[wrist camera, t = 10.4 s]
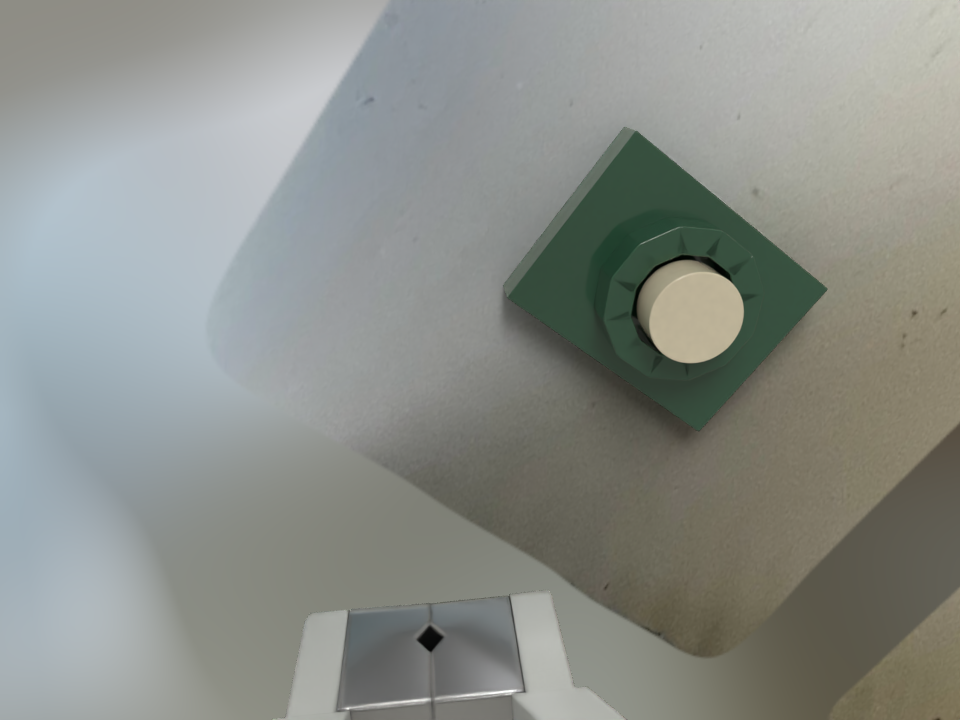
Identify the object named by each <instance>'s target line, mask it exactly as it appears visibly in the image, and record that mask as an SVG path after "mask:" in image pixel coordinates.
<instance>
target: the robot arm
mask: <svg viewBox="0 0 960 720" xmlns="http://www.w3.org/2000/svg"><path fill="white" fill-rule="evenodd" d="M272 720H627V719H626V718H625V717H623V716H622V715H621V714H620V713H618V712H617V711H616V710H615V709H614V708H613V707H611V706H610V705H609V704H608V703H607V702H605V701H604V700H603V699H602V698H601V697H599V696H598V695H597V694H595V692H593V691H592V690H591V689H590V688H589V687H577V688H575V685H574V681H573V677H572V673H571V670H570V665H569V661H568V657H567V653H566V649H565V645H564V641H563V637H562V634H561V629H560V625H559V622H558V617H557V613H556V609H555V606H554V601H553V598H552V594H551V593H550V592H549V591H548V590H541V591H533V592H524V593H516V594H509V596H498V597H489V598H479V599H470V600H459V601H450V602H440V603H426V604H412V605H399V606H386V607H372V608H358V609H351V611H350V610H340V611H327V612H314V613H310V614H309V616H308V617H307V619H306V620H305V623H304V628H303V633H302V638H301V643H300V647H299V653H298V657H297V662H296V667H295V672H294V677H293V682H292V687H291V692H290V697H289V701H288V706H287V712H286V716H285V718H276V719H272Z"/></svg>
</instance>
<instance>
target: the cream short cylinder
mask: <svg viewBox="0 0 960 720" xmlns="http://www.w3.org/2000/svg"><path fill="white" fill-rule="evenodd" d="M743 317H744V307H743V301H742V298H741V295H740V293H739V291H738V290H737V288H736V287H735V286H734V284H733V283H731V282H730V281H729V280H728V279H727V278H725V277H724V276H722V275H721V274H720V273H718V272H717V271H716V270H714V269H713V268H711V267H710V266H708V265H707V264H704V263H702V262H699V261H695V260H679V261H675V262H672V263H669V264H666V265H664V266H663V267H661V268H659V269H658V270H656V271H655V272H654V273H653V274H652V275H651V276H650V277H649V278H648V279H647V281H646V282H645V283H644V285H643V287H642V289H641V291H640V293H639V296H638V300H637V318H638V321H639V324H640V326H641V328H642V330H643V331H644V333H645V334H646V335H647V336H648V337H649V339H650V340H651V341H652V342H653V344H654V345H655V346H656V347H657V348H658V350H659V351H660V352H661V353H662V354H664V355H665V356H666V357H668V358H670V359H672V360H674V361H678V362H682V363H699V362H704V361H707V360H710V359H712V358H714V357H716V356H718V355H719V354H721V353H722V352H723V351H725V350H726V349H727V348H728V347H729V346H730V345H731V344H732V342H733V341H734V340H735V338H736V337H737V335H738V333H739V331H740V329H741V326H742V323H743Z"/></svg>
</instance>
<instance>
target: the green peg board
mask: <svg viewBox="0 0 960 720" xmlns="http://www.w3.org/2000/svg"><path fill="white" fill-rule="evenodd" d="M679 260H695V261H699V262H702V263H704V264H707V265H708V266H710V267H711V268H713V269H714V270H716V271H717V272H718V273H720V274H721V275H722V276H724V277H725V278H727V279H728V280H729V281H730V282H731V283H733V284H734V286H735V287H736V288H737V290H738V291H739V293H740V295H741V298H742V301H743V307H744V317H743V323H742V326H741V329H740V331H739V333H738V335H737V337H736V338H735V340H734V341H733V342H732V344H731V345H730V346H729V347H728V348H727V349H726V350H725V351H723V352H722V353H721V354H719V355H718V356H716V357H714V358H712V359H710V360H707V361H704V362H699V363H682V362H678V361H674V360H672V359H670V358H668V357H666V356H665V355H664V354H662V353H661V352H660V351H659V350H658V348H657V347H656V346H655V345H654V344H653V342H652V341H651V340H650V339H649V337H648V336H647V335H646V334H645V333H644V331H643V330H642V328H641V326H640V324H639V321H638V318H637V300H638V296H639V293H640V291H641V289H642V287H643V285H644V283H645V282H646V281H647V279H648V278H649V277H650V276H651V275H652V274H653V273H654V272H655V271H656V270H658V269H659V268H661V267H663V266H664V265H666V264H669V263H672V262H675V261H679ZM503 287H504V290H505V292H506V295H507V298H508V299H509V300H511V301H512V302H514V303H515V304H517V305H518V306H519V307H521V308H522V309H524V310H525V311H527V312H528V313H529V314H531V315H532V316H534V317H535V318H537V319H538V320H539V321H541V322H542V323H544V324H545V325H547V326H548V327H549V328H551V329H552V330H554V331H555V332H557V333H558V334H559V335H561V336H562V337H564V338H565V339H567V340H568V341H569V342H571V343H572V344H574V345H575V346H577V347H578V348H579V349H581V350H582V351H584V352H585V353H587V354H588V355H589V356H591V357H592V358H594V359H595V360H597V361H598V362H599V363H601V364H602V365H604V366H605V367H607V368H608V369H610V370H611V371H612V372H614V373H615V374H617V375H618V376H620V377H621V378H622V379H624V380H625V381H627V382H628V383H630V384H631V385H632V386H634V387H635V388H637V389H638V390H640V391H641V392H642V393H644V394H645V395H647V396H648V397H650V398H651V399H652V400H654V401H655V402H657V403H658V404H660V405H661V406H662V407H664V408H665V409H667V410H668V411H670V412H671V413H672V414H674V415H675V416H677V417H678V418H680V419H681V420H682V421H684V422H685V423H687V424H688V425H690V426H691V427H692V428H694V429H695V430H697V431H700V430H701V429H702V428H703V427H704V425H705V424H706V423H707V422H708V421H709V420H710V419H711V418H712V417H713V416H714V414H715V413H716V412H717V411H718V410H719V409H720V408H721V407H722V406H723V405H724V403H725V402H726V401H727V400H728V399H729V398H730V397H731V396H732V395H733V393H734V392H735V391H736V390H737V389H738V388H739V387H740V386H741V385H742V384H743V382H744V381H745V380H746V379H747V378H748V377H749V376H750V375H751V374H752V372H753V371H754V370H755V369H756V368H757V367H758V366H759V365H760V364H761V363H762V361H763V360H764V359H765V358H766V357H767V356H768V355H769V354H770V353H771V352H772V350H773V349H774V348H775V347H776V346H777V345H778V344H779V343H780V342H781V340H782V339H783V338H784V337H785V336H786V335H787V334H788V333H789V332H790V331H791V329H792V328H793V327H794V326H795V325H796V324H797V323H798V322H799V321H800V319H801V318H802V317H803V316H804V315H805V314H806V313H807V312H808V311H809V310H810V308H811V307H812V306H813V305H814V304H815V303H816V302H817V301H818V300H819V299H820V297H821V296H822V295H823V294H824V293H825V292H826V291H827V288H826V287H825V286H824V285H823V284H821V283H820V282H819V281H818V280H817V279H815V278H814V277H813V276H812V275H811V274H809V273H808V272H807V271H806V270H805V269H803V268H802V267H801V266H800V265H798V264H797V263H796V262H795V261H794V260H792V259H791V258H790V257H789V256H788V255H786V254H785V253H784V252H783V251H782V250H780V249H779V248H778V247H777V246H775V245H774V244H773V243H772V242H771V241H769V240H768V239H767V238H766V237H765V236H763V235H762V234H761V233H760V232H759V231H757V230H756V229H755V228H754V227H752V226H751V225H750V224H749V223H748V222H746V221H745V220H744V219H743V218H742V217H740V216H739V215H738V214H737V213H736V212H734V211H733V210H732V209H731V208H729V207H728V206H727V205H726V204H725V203H723V202H722V201H721V200H720V199H719V198H717V197H716V196H715V195H714V194H713V193H711V192H710V191H709V190H708V189H706V188H705V187H704V186H703V185H702V184H700V183H699V182H698V181H697V180H696V179H694V178H693V177H692V176H691V175H690V174H688V173H687V172H686V171H685V170H683V169H682V168H681V167H680V166H679V165H677V164H676V163H675V162H674V161H673V160H671V159H670V158H669V157H668V156H667V155H665V154H664V153H663V152H662V151H660V150H659V149H658V148H657V147H656V146H654V145H653V144H652V143H651V142H650V141H648V140H647V139H646V138H645V137H644V136H642V135H641V134H640V133H639V132H637V131H635V130H632V129H630V128H627V127H624V128H623V129H622V130H621V132H620V133H619V134H618V136H617V137H616V138H615V140H614V141H613V142H612V143H611V145H610V146H609V147H608V149H607V150H606V151H605V153H604V154H603V155H602V157H601V158H600V159H599V160H598V162H597V163H596V164H595V166H594V167H593V168H592V170H591V171H590V172H589V174H588V175H587V176H586V177H585V179H584V180H583V181H582V183H581V184H580V185H579V187H578V188H577V189H576V191H575V192H574V193H573V195H572V196H571V197H570V198H569V200H568V201H567V202H566V204H565V205H564V206H563V208H562V209H561V210H560V212H559V213H558V214H557V215H556V217H555V218H554V219H553V221H552V222H551V223H550V225H549V226H548V227H547V229H546V230H545V231H544V232H543V234H542V235H541V236H540V238H539V239H538V240H537V242H536V243H535V244H534V246H533V247H532V248H531V249H530V251H529V252H528V253H527V255H526V256H525V257H524V259H523V260H522V261H521V263H520V264H519V265H518V266H517V268H516V269H515V270H514V272H513V273H512V274H511V276H510V277H509V278H508V280H507V281H506V282H505V283H504V285H503Z"/></svg>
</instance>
